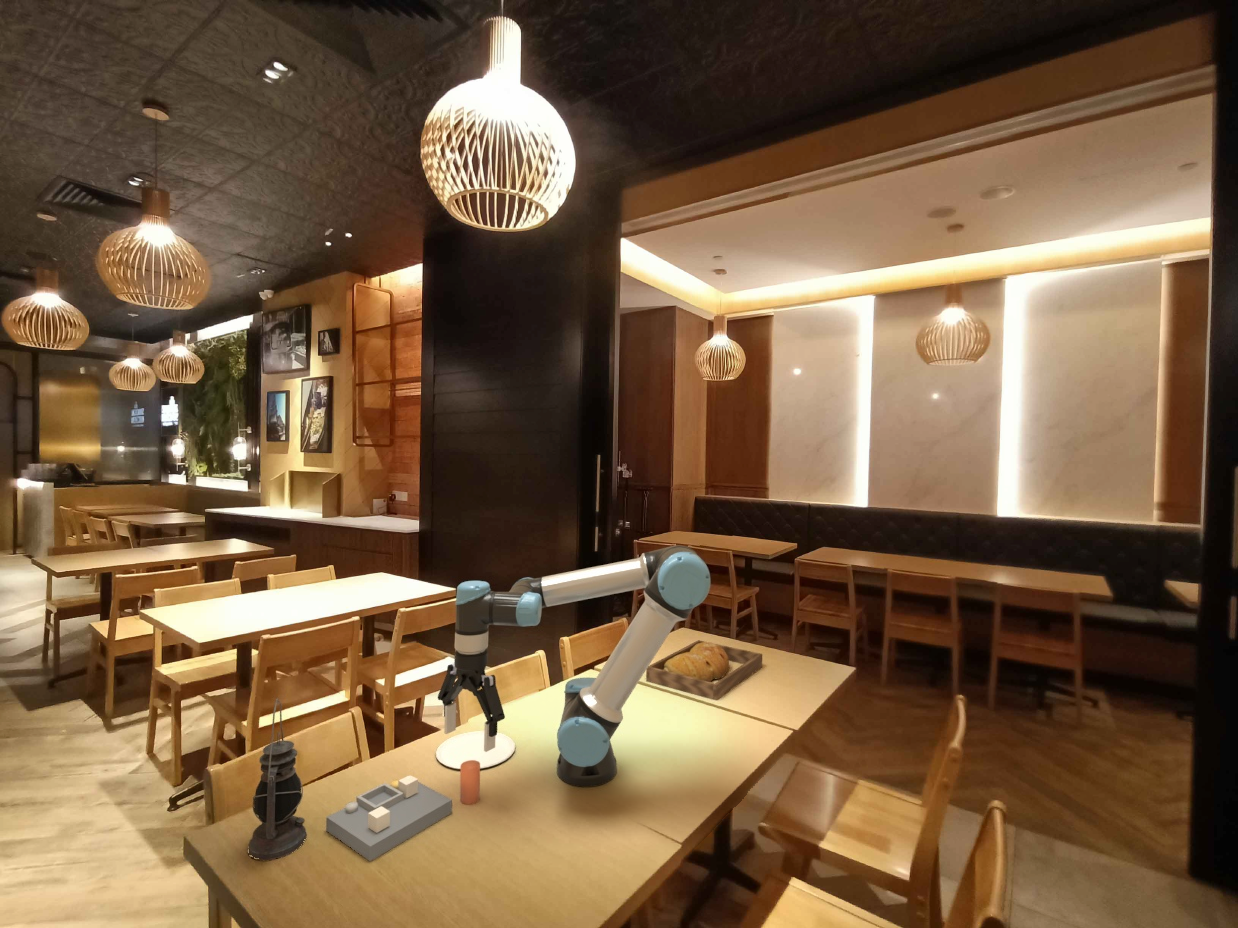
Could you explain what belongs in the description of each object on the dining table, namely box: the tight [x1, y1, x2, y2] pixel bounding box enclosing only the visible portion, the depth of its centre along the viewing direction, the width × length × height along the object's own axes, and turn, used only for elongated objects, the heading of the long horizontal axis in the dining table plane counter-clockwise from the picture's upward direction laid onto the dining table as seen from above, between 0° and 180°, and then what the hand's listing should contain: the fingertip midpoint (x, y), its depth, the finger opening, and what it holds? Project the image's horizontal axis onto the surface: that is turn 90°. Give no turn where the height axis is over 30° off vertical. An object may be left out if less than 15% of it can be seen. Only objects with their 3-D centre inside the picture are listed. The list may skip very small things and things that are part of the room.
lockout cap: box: [459, 760, 481, 805], centre depth 140 cm, size 4×4×8 cm
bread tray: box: [645, 639, 763, 701], centre depth 223 cm, size 27×39×5 cm
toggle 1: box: [368, 806, 390, 833], centre depth 124 cm, size 3×3×3 cm
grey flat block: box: [325, 779, 453, 862], centre depth 131 cm, size 16×20×4 cm
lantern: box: [247, 697, 308, 861], centre depth 123 cm, size 12×11×30 cm
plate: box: [435, 730, 516, 771], centre depth 162 cm, size 21×21×1 cm
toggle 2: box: [398, 775, 419, 798], centre depth 136 cm, size 3×3×3 cm
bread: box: [663, 641, 730, 682], centre depth 225 cm, size 32×20×10 cm, turn 144°
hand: (469, 740), depth 140 cm, fingers open, 13 cm apart
